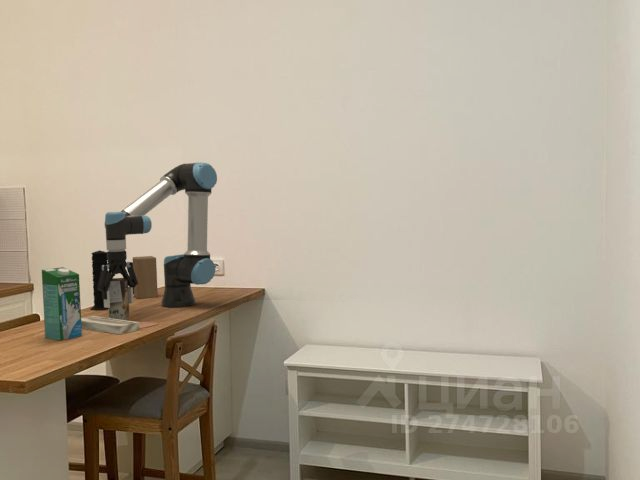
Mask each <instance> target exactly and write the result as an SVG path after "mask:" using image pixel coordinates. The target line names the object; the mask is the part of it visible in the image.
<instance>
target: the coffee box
mask: <svg viewBox="0 0 640 480" xmlns="http://www.w3.org/2000/svg"><path fill="white" fill-rule="evenodd" d="M128 287H129V286H128V280H127V278H123V277H117V278H116V277H115V278H114V277H113V279H112V281H110V286H109V288H108V291H109V296H110V308H109V310H108V318H113V319H120V320H127V319H128V318H130V303H129V291H128Z"/></svg>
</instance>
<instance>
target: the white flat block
mask: <svg viewBox="0 0 640 480" xmlns="http://www.w3.org/2000/svg"><path fill="white" fill-rule="evenodd" d="M139 323H140V322H139V321H134V320H133V321H132V320H127V319H126V320H120V319H113V318H109V317H104V316H97V315H90V316H84V317H81V325H82V329H83V330H84V329H85V330H90V331H95V332H102V333H107V334H114V335H124V334H128V333H133V332H137V331H140V328H139Z"/></svg>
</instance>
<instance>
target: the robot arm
mask: <svg viewBox="0 0 640 480" xmlns="http://www.w3.org/2000/svg"><path fill="white" fill-rule="evenodd" d="M217 182H218V175H217V172H216V169H215V168H214V167H213V166H212V165H211V164H210V163H207V162H192V163H191V162H190V163H182V164H179V165H177V166H175V167H174V168H172V169H170V170H169V171H168V172H166V173H165V174H164V175H163V176H161V177H160V179H159V181H158V182H157V183H156V184H155V185H153V186H152V187H151V188H149V189H148V190H146V192H144V193H143V194H141V195H140V196H139V197H137V199H135V200H134V201H132V202H130V204H128V205H127V206H126V207H125V208H124V209H122V210H121V211H108V212H106V213H105V217H104V218H105V219H104V229H105V242H106V250H107V251H106V252H107V261H108V262H107V263H108V264H107V265H101V274H100V278H99V282H98V287H97V290H100V291H102V299H104V307H106V308H110V296H109V291H107V290H108V288H109V286H110V281H112V279H113V278H114V277H116V275H118V274H120V275H121V276H122V278H127V280H128V291H129V304H134V287H136V285H138V281H137V278H136V275H135V272H134V269H133V261H126V260H127V257H128V256H127V251H126V250H127V238H126V237H127V236H129V235H143V234H149V233H150V232H151V230H152V225H153V224H152V222H153V221H152V220H151V217H149V216H148V215H147V214H148V213H149V212H150V211H152V210H153V209H154V208H156V207H157V206H158V205H160V204H161V203H162V202H163V201H165V200H166V199H167V198H168V197H170V196H173V195H174V196H175V195H176V194H177V193H179V192H181V191H184V193H185V194H186V195H187V197H188V204H187V205H188V206H187V207H188V209H187V250H186V251H185V252H184V253H183V254H176V255H167V256H165V257H164V259H163V276H164V277H163V278H164V291H163V295H162V296H163V297H162V299H161V306H162V307H166V308H182V307H189V306H193V305H195V304H196V298H195V297H194V294H193V290H192V287H191V284H193V285H197V286H198V285H199V286H200V285H207V284H208V283H210V282H211V280H212V279H213V278H214V277H215V274H216V264H215V263H214V260H212V259H211V253H210V252H209V250H208V214H209V213H208V211H209V210H208V208H209V207H208V206H209V196H211V195H212V189H213V188H214V187H215V185H216V184H217ZM107 270H108V273H107ZM106 276H107V277H106Z"/></svg>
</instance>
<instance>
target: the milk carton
mask: <svg viewBox="0 0 640 480" xmlns="http://www.w3.org/2000/svg"><path fill="white" fill-rule="evenodd" d="M41 281H42V282H41V283H42V300H43V301H42V302H43V318H44V320H43V321H44V338H45V339H49V340H56V341H64V340H65V341H66V340H70V339H73V338H74V339H75V338H78V337H81V336H82V337H83V330H82V325H81V318H82V310H81V288H80V285H81V284H80V274H79V273H77V272H75V271H72V270H70V269H68V268H65V267H63V266H61V267H54V268H46V269H41Z"/></svg>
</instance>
